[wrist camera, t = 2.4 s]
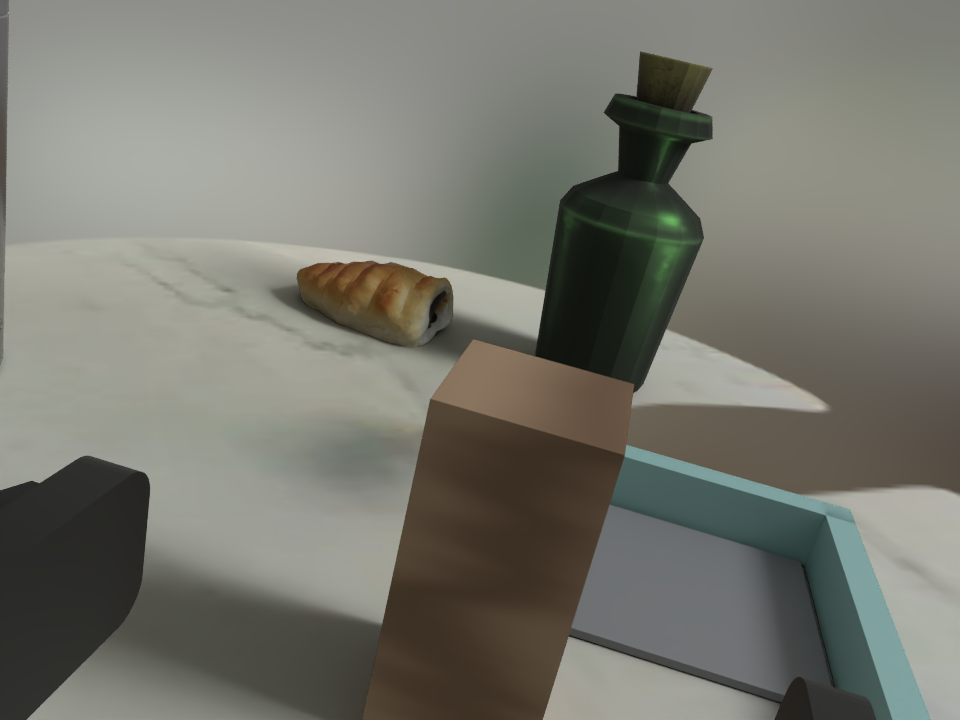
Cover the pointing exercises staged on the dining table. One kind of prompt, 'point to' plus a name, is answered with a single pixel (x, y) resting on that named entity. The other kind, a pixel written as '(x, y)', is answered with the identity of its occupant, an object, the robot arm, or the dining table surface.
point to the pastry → (379, 299)
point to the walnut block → (497, 537)
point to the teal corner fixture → (741, 587)
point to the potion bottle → (627, 233)
